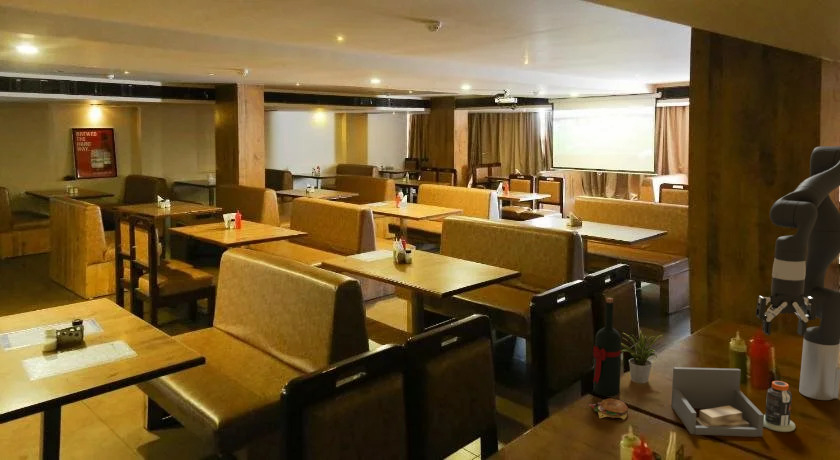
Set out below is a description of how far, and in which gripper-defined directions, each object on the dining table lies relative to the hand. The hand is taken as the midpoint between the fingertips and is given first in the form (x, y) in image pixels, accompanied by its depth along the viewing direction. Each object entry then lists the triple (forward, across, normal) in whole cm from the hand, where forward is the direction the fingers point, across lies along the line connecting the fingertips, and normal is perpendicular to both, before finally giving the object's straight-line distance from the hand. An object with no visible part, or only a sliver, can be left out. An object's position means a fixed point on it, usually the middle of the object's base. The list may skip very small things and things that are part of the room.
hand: (783, 334), depth 167 cm
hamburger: (+26, +45, -5) cm, 53 cm away
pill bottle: (+25, 0, 0) cm, 25 cm away
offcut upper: (+24, +16, +2) cm, 29 cm away
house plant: (+26, +29, -30) cm, 49 cm away
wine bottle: (+26, +43, -18) cm, 53 cm away
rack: (+26, +16, -1) cm, 30 cm away
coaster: (+26, 0, 0) cm, 26 cm away
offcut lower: (+26, +16, +3) cm, 31 cm away
